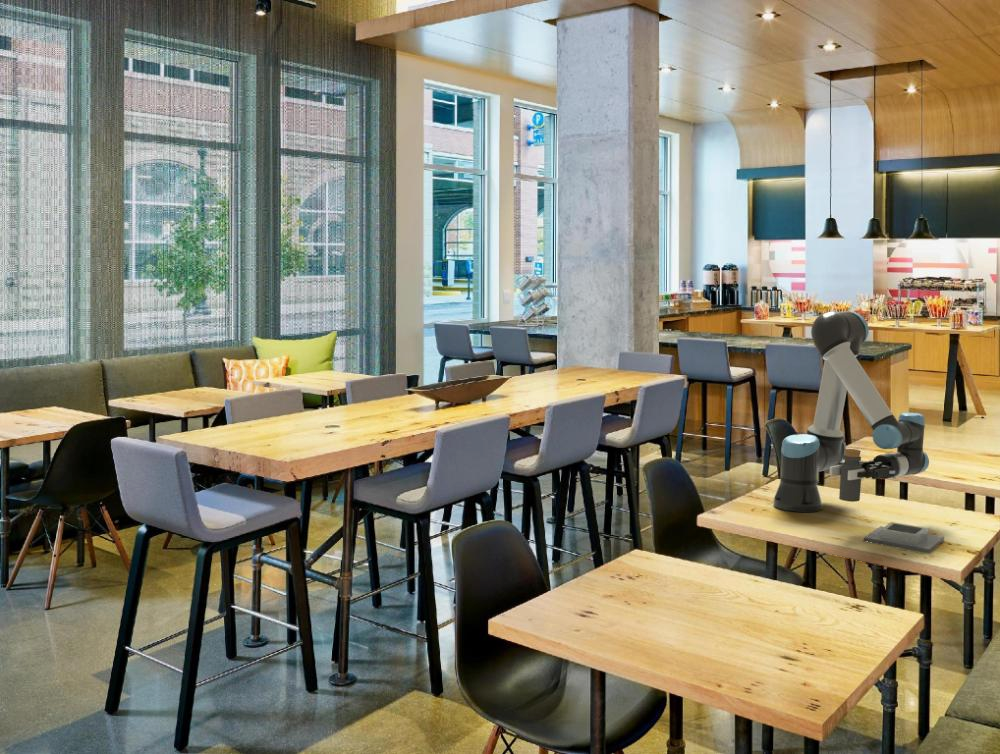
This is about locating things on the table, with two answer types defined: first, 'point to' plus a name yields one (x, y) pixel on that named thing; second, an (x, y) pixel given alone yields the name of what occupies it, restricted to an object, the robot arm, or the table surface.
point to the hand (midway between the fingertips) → (839, 473)
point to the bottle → (847, 487)
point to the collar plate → (904, 537)
